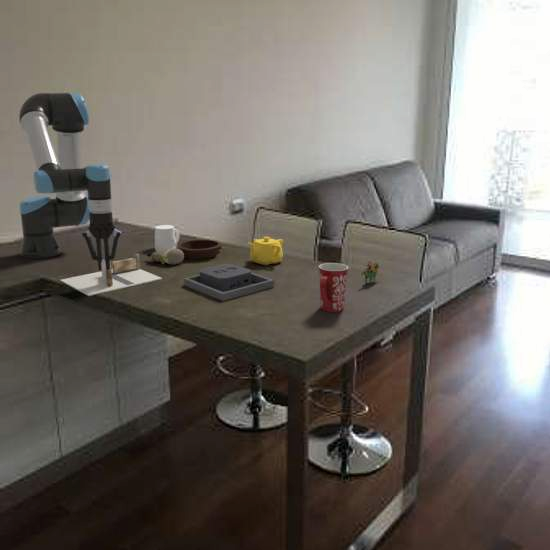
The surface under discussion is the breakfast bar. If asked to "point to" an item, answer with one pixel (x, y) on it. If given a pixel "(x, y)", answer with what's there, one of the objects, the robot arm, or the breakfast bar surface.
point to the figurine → (370, 272)
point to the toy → (168, 256)
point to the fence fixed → (126, 264)
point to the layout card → (96, 285)
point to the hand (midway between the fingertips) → (105, 279)
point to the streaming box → (225, 277)
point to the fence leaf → (109, 277)
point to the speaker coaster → (261, 285)
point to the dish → (199, 248)
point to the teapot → (266, 250)
